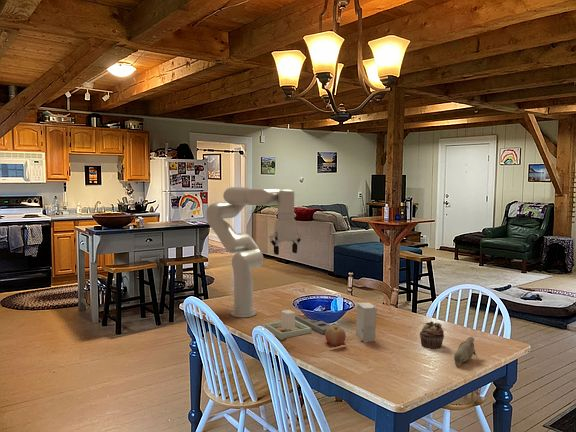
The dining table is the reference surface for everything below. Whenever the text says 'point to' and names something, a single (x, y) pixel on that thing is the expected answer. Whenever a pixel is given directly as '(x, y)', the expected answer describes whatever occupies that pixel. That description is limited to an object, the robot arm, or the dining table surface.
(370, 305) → the skincare box
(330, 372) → the dining table surface
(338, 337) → the fruit
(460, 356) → the decorative bird
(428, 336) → the cupcake
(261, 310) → the dining table surface
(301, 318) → the power strip
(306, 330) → the green square frame
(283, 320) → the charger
